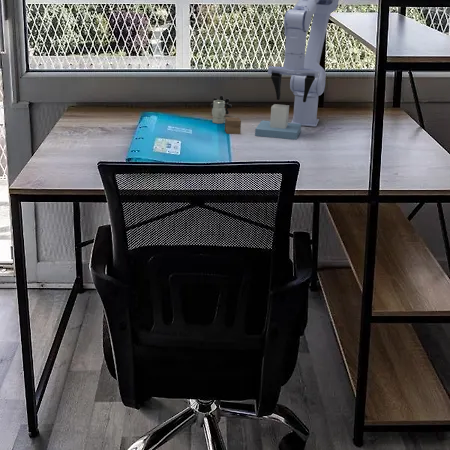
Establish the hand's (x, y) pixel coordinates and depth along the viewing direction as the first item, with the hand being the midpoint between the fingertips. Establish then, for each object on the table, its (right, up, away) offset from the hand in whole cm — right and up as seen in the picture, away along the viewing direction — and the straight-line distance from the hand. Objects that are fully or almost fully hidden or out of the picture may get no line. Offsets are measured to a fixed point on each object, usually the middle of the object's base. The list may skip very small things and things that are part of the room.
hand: (291, 100), depth 240 cm
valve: (-21, -4, +17) cm, 27 cm away
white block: (-3, -7, +3) cm, 8 cm away
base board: (-4, -9, +3) cm, 10 cm away
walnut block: (-17, -9, +2) cm, 19 cm away
